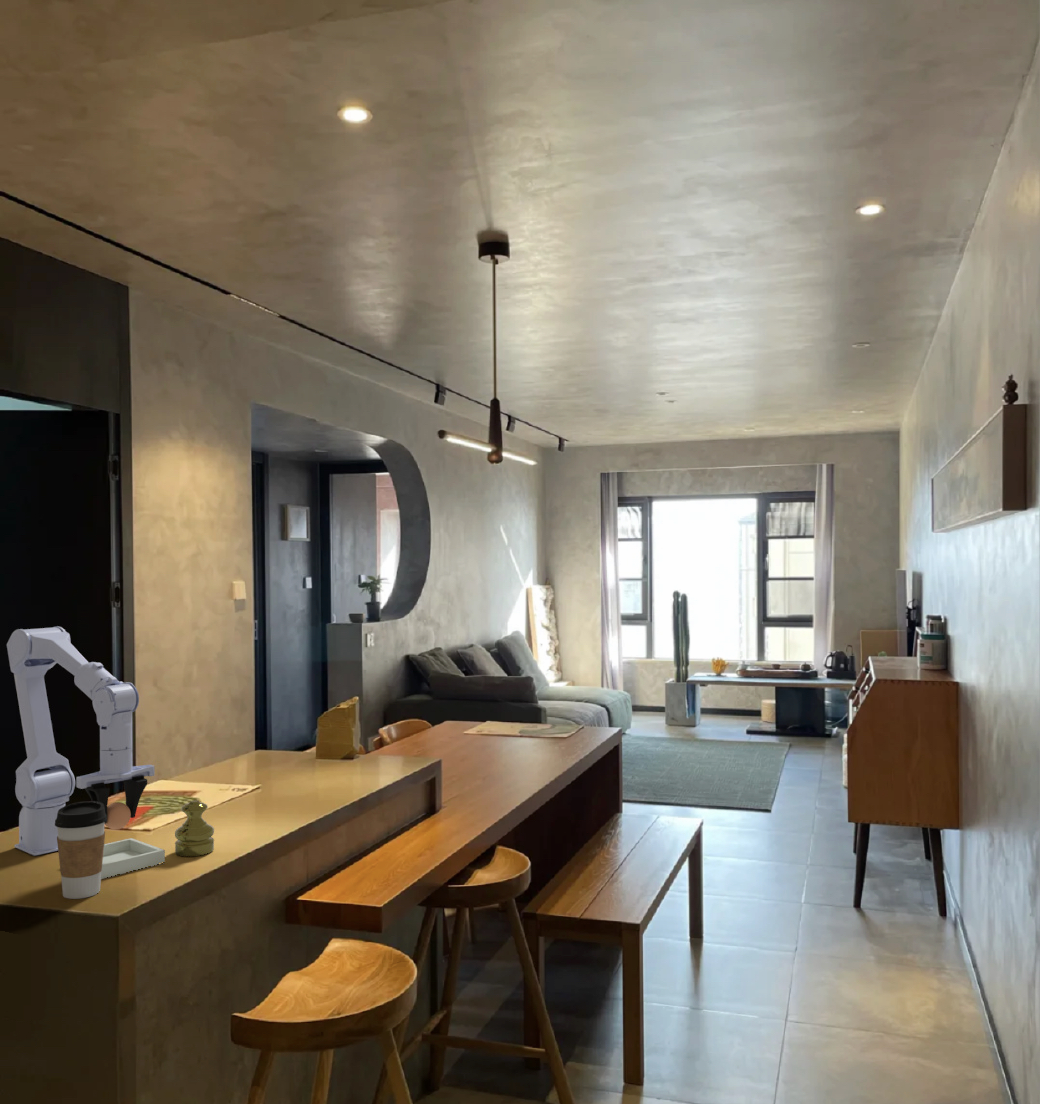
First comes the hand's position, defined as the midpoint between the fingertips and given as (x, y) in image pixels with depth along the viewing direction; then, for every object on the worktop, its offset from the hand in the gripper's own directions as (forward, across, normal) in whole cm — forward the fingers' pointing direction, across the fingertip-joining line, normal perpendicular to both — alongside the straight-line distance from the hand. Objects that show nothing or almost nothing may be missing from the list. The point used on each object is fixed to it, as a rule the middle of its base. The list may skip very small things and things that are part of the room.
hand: (116, 819), depth 192 cm
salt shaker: (+9, +14, -4) cm, 17 cm away
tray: (+8, 0, 0) cm, 8 cm away
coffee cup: (+9, -12, -11) cm, 18 cm away
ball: (+2, 0, 0) cm, 2 cm away
